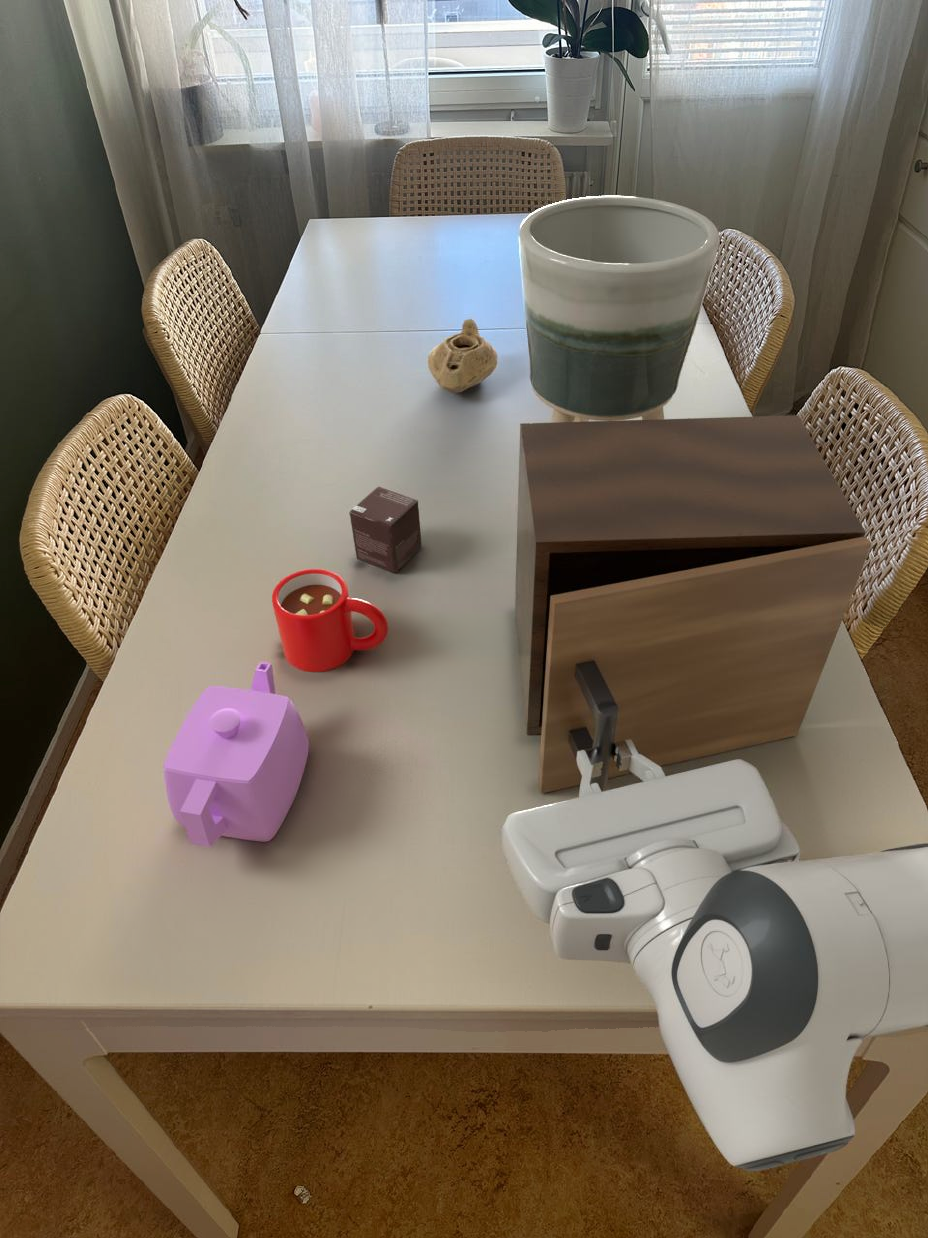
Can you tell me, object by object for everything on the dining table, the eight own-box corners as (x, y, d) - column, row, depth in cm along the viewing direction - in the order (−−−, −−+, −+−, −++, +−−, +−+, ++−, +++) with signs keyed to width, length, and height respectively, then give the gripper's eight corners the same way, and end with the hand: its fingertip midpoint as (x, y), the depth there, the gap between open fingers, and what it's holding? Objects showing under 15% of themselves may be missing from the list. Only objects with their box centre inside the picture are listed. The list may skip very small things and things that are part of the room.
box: (423, 548, 107) (420, 499, 102) (395, 575, 104) (390, 526, 99) (383, 532, 110) (378, 484, 105) (354, 558, 106) (348, 510, 101)
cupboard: (792, 726, 86) (866, 532, 69) (526, 734, 86) (535, 542, 69) (745, 603, 99) (798, 414, 82) (514, 610, 99) (520, 423, 82)
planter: (708, 502, 113) (763, 243, 90) (564, 550, 107) (584, 283, 84) (617, 424, 127) (645, 183, 104) (485, 462, 121) (484, 214, 98)
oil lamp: (426, 407, 132) (423, 359, 126) (430, 361, 143) (427, 314, 137) (498, 407, 132) (498, 358, 126) (496, 360, 143) (497, 313, 137)
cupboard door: (829, 782, 81) (917, 590, 64) (561, 847, 77) (581, 658, 60) (792, 727, 86) (865, 535, 69) (537, 785, 81) (550, 595, 65)
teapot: (233, 705, 89) (211, 635, 82) (330, 720, 88) (316, 649, 81) (154, 858, 77) (121, 791, 70) (267, 878, 75) (244, 811, 68)
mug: (384, 678, 92) (378, 624, 86) (275, 668, 93) (261, 615, 88) (398, 626, 97) (392, 573, 92) (294, 618, 99) (283, 565, 93)
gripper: (824, 844, 59) (729, 696, 69) (539, 920, 56) (481, 753, 65) (801, 891, 64) (714, 745, 73) (535, 963, 60) (481, 800, 70)
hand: (602, 749), depth 69 cm, fingers closed on cupboard door, 2 cm apart
